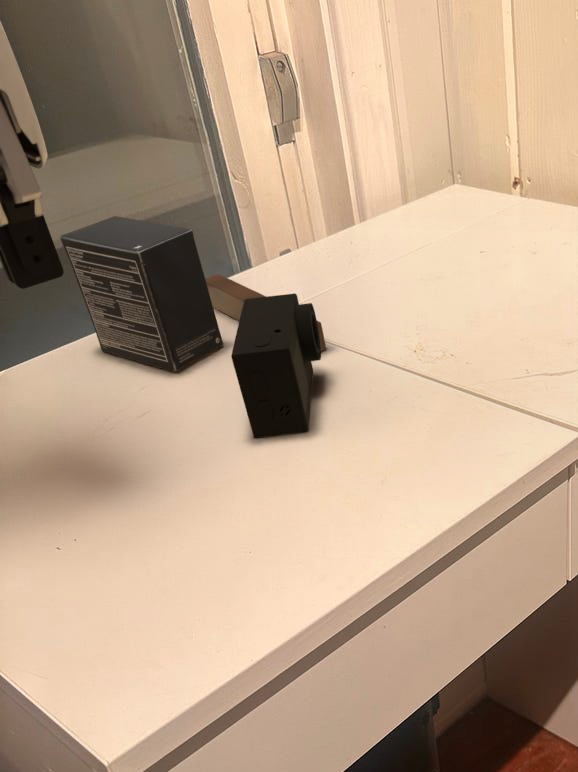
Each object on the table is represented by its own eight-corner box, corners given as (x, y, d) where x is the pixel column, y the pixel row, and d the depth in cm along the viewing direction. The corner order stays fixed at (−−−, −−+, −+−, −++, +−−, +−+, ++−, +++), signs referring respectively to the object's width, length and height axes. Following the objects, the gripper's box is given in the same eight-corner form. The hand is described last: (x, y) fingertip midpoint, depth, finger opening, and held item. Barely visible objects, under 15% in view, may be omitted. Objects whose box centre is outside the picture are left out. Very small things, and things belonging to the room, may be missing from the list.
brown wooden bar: (208, 305, 91) (200, 280, 89) (225, 298, 92) (218, 273, 90) (308, 357, 81) (302, 330, 79) (326, 349, 82) (321, 322, 80)
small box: (229, 344, 84) (196, 226, 77) (176, 374, 80) (136, 253, 73) (152, 324, 89) (115, 211, 82) (99, 352, 85) (55, 235, 78)
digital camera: (323, 431, 71) (305, 345, 66) (253, 439, 71) (230, 354, 66) (327, 370, 78) (310, 290, 74) (264, 377, 78) (244, 297, 74)
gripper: (-208, -64, 51) (-57, 267, 63) (-129, -46, 42) (27, 332, 55) (-71, -81, 54) (46, 236, 67) (28, -68, 46) (140, 292, 58)
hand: (37, 278), depth 61 cm, fingers closed
